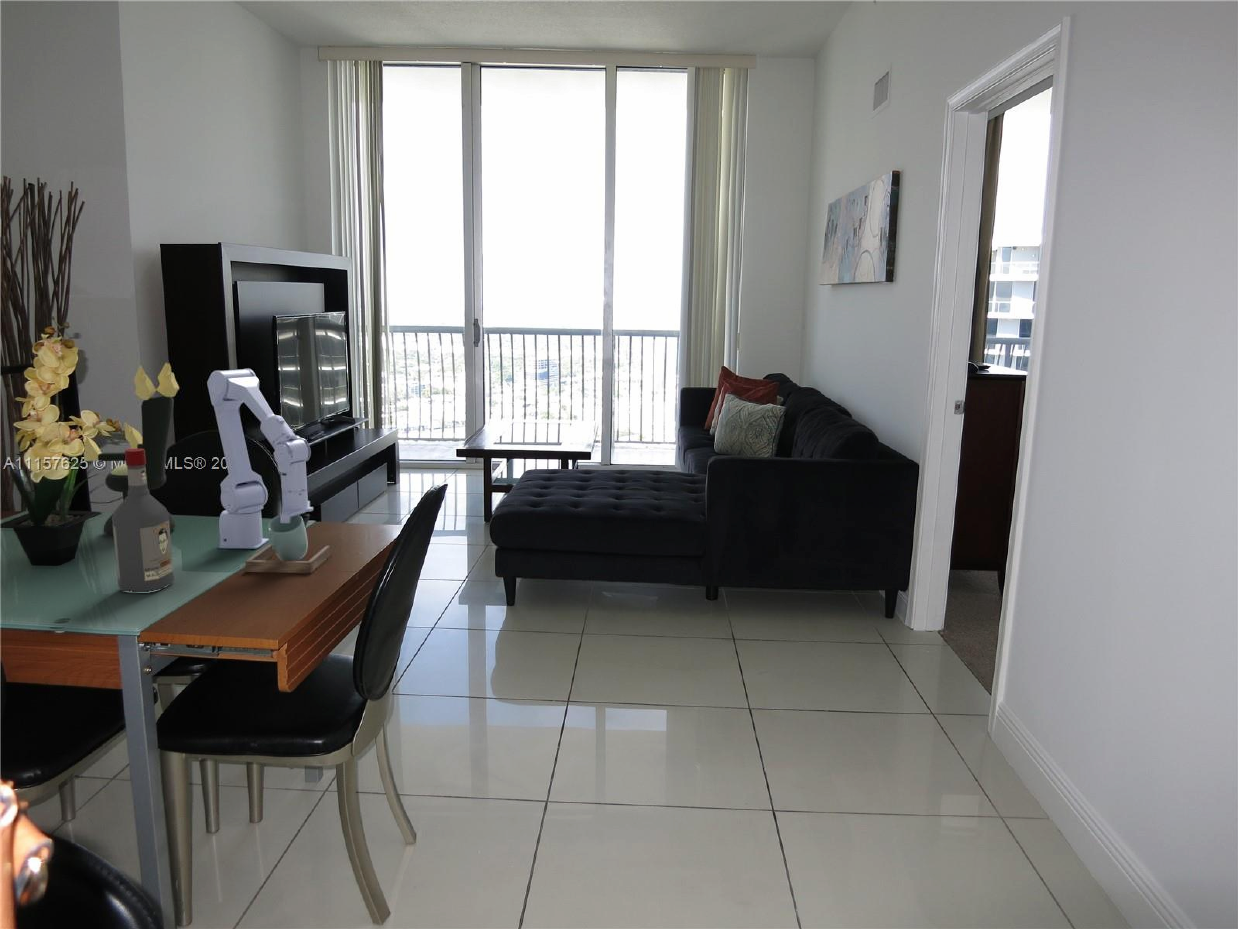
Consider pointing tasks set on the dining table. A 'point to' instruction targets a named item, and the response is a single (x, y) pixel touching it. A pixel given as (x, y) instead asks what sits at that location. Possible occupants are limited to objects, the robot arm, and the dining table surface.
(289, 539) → the cup
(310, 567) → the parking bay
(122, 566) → the liquor
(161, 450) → the flowering cactus
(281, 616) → the dining table surface
